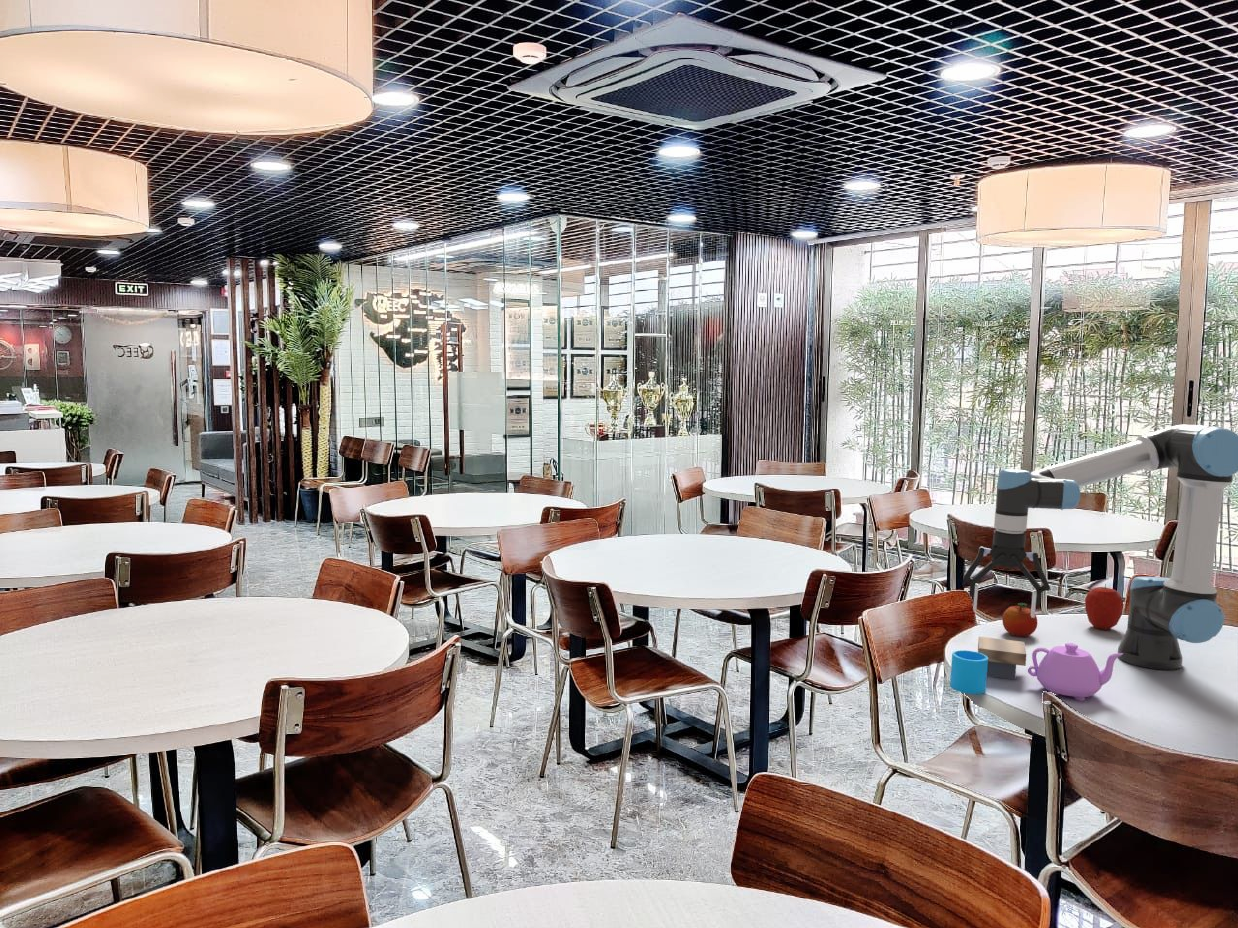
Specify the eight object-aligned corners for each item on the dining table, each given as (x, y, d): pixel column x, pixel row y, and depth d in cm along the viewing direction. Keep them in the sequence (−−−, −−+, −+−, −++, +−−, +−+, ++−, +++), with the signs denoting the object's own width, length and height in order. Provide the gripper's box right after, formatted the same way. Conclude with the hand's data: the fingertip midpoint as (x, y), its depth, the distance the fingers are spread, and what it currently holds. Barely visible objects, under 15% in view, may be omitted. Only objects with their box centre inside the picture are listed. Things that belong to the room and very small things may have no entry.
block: (1023, 653, 234) (1024, 641, 234) (1025, 665, 224) (1026, 654, 223) (977, 647, 238) (978, 636, 238) (977, 659, 228) (978, 648, 227)
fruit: (1032, 631, 270) (1035, 598, 269) (1039, 640, 260) (1042, 607, 259) (998, 628, 272) (1000, 596, 271) (1004, 637, 263) (1006, 604, 261)
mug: (989, 695, 216) (992, 662, 215) (954, 692, 217) (956, 659, 216) (976, 678, 228) (979, 646, 227) (943, 675, 229) (945, 644, 228)
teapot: (1120, 693, 219) (1124, 644, 218) (1117, 711, 207) (1121, 660, 205) (1030, 677, 229) (1034, 630, 228) (1022, 693, 217) (1026, 644, 216)
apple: (1126, 629, 274) (1130, 584, 273) (1113, 635, 268) (1117, 589, 266) (1090, 621, 282) (1094, 577, 281) (1077, 627, 275) (1081, 582, 274)
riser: (1014, 671, 233) (1015, 654, 233) (1015, 679, 227) (1016, 662, 226) (984, 667, 236) (986, 650, 235) (985, 675, 229) (986, 658, 229)
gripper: (1063, 533, 226) (1056, 615, 229) (957, 523, 235) (951, 603, 238) (1066, 538, 219) (1058, 623, 222) (956, 528, 228) (950, 610, 231)
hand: (1003, 612), depth 230 cm, fingers open, 13 cm apart
